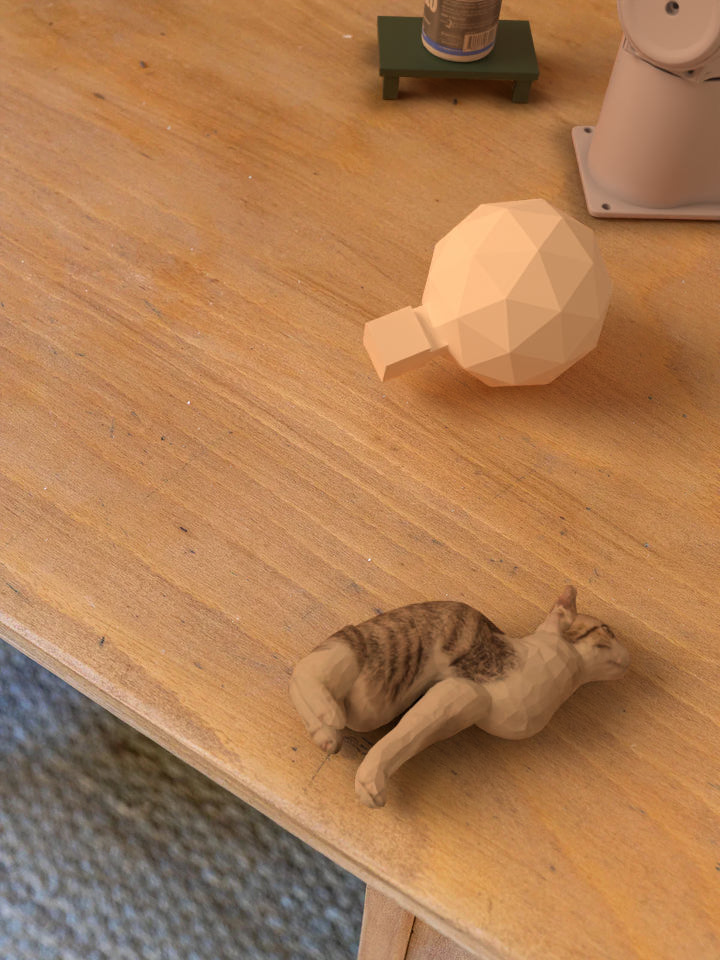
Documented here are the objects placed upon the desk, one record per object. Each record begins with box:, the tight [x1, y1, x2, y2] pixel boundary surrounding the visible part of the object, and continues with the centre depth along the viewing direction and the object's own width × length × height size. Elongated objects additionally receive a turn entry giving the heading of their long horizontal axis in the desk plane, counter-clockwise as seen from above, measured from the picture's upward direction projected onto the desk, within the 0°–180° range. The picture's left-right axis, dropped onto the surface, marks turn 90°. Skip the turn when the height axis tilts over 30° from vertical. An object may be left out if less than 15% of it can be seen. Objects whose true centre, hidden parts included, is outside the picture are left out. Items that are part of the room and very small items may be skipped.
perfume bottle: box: [362, 197, 615, 388], centre depth 45 cm, size 9×9×12 cm
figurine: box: [287, 584, 633, 810], centre depth 36 cm, size 4×16×15 cm
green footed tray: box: [376, 15, 540, 104], centre depth 61 cm, size 10×6×2 cm, turn 91°
